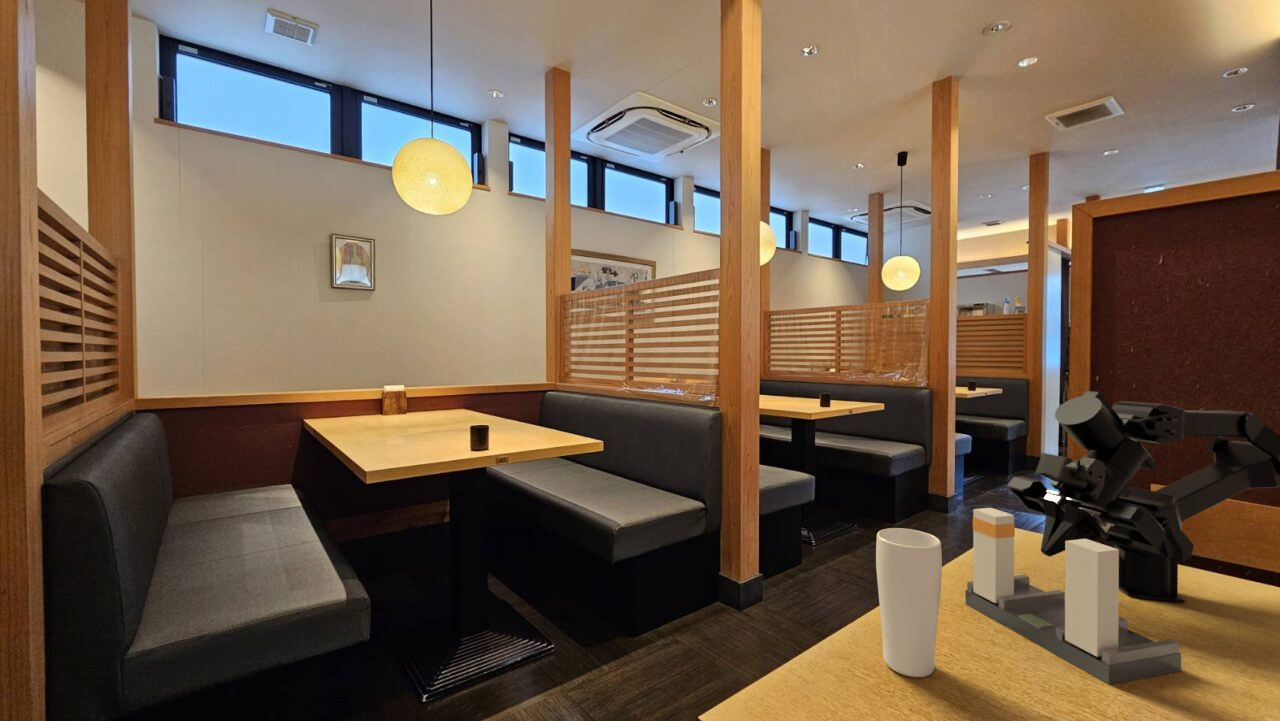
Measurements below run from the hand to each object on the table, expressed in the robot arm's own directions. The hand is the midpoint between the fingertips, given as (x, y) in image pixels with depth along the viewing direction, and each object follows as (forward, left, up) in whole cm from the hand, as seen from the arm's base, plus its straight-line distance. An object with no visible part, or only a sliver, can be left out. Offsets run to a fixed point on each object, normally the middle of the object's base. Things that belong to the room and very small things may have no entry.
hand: (1044, 553), depth 76 cm
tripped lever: (+8, +5, -5) cm, 10 cm away
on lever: (+1, +16, -5) cm, 16 cm away
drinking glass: (+20, +22, -8) cm, 31 cm away
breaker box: (+1, +8, -7) cm, 11 cm away
